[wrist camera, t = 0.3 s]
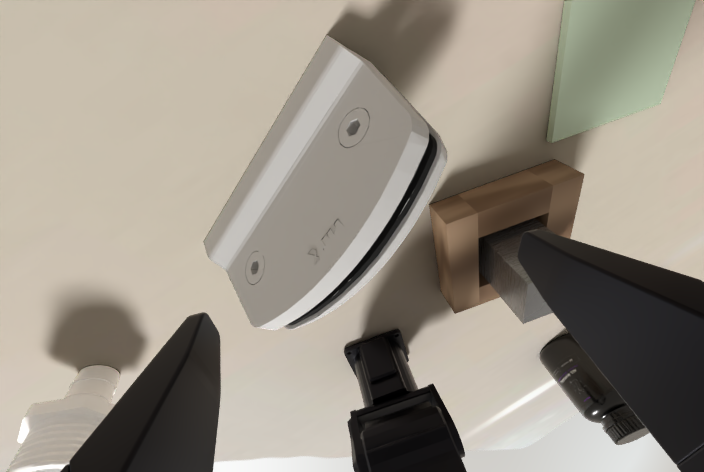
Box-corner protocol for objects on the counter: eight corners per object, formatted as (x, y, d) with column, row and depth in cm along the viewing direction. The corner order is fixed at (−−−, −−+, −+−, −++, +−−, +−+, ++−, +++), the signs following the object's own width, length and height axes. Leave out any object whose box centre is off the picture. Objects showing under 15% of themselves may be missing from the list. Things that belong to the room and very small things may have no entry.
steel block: (512, 242, 30) (578, 302, 24) (468, 258, 30) (523, 323, 24) (515, 203, 27) (591, 260, 21) (467, 221, 27) (527, 284, 21)
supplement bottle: (538, 343, 43) (615, 436, 34) (584, 325, 43) (674, 413, 34) (535, 366, 47) (603, 455, 38) (577, 350, 47) (656, 435, 38)
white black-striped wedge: (330, 27, 17) (450, 104, 11) (381, 76, 20) (492, 153, 15) (201, 245, 23) (235, 370, 17) (257, 254, 26) (301, 360, 20)
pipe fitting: (48, 393, 28) (-17, 505, 22) (63, 344, 25) (-6, 456, 19) (129, 400, 31) (93, 500, 25) (150, 357, 28) (116, 457, 22)
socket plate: (540, 255, 32) (562, 274, 30) (440, 291, 32) (455, 313, 30) (554, 159, 25) (584, 174, 23) (429, 204, 25) (446, 224, 23)
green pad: (652, 102, 24) (660, 103, 24) (546, 140, 24) (551, 143, 24) (701, -48, 19) (712, -49, 18) (563, 0, 19) (571, 0, 18)
